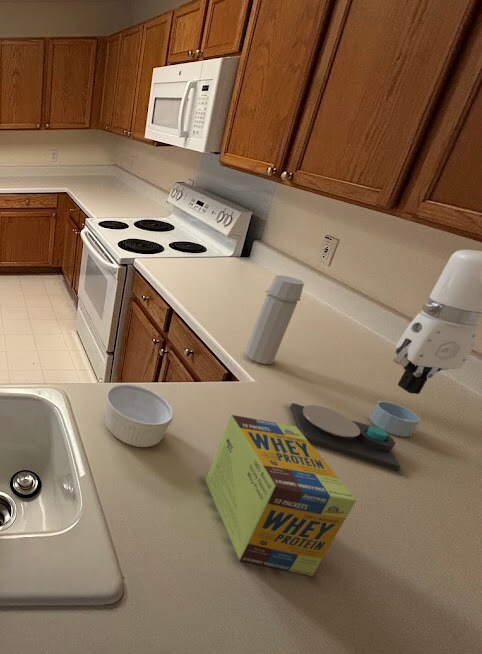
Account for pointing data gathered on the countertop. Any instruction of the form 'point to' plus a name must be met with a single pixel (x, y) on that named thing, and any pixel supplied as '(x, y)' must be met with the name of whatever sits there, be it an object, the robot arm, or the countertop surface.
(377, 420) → the bowl
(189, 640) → the countertop surface
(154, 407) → the ramekin
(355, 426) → the scale plate
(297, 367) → the countertop surface
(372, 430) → the tare button
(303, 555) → the protein box
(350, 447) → the scale
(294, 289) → the water bottle
